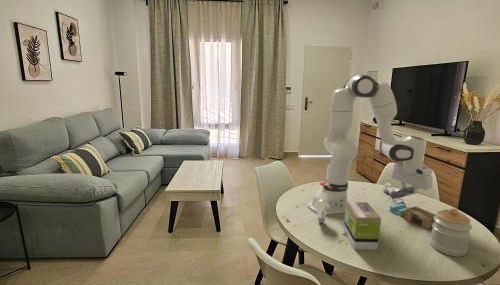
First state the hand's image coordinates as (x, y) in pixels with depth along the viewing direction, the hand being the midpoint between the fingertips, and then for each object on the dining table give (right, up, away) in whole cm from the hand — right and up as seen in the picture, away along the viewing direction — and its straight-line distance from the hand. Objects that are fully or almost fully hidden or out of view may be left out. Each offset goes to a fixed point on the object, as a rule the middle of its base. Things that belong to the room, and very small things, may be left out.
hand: (409, 191), depth 149 cm
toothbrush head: (+1, -8, +18) cm, 19 cm away
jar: (-2, -18, -31) cm, 36 cm away
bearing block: (0, -13, -11) cm, 17 cm away
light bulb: (-50, -13, -12) cm, 53 cm away
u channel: (-4, -11, +1) cm, 12 cm away
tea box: (-37, -17, -27) cm, 48 cm away
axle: (-4, -2, -1) cm, 4 cm away
